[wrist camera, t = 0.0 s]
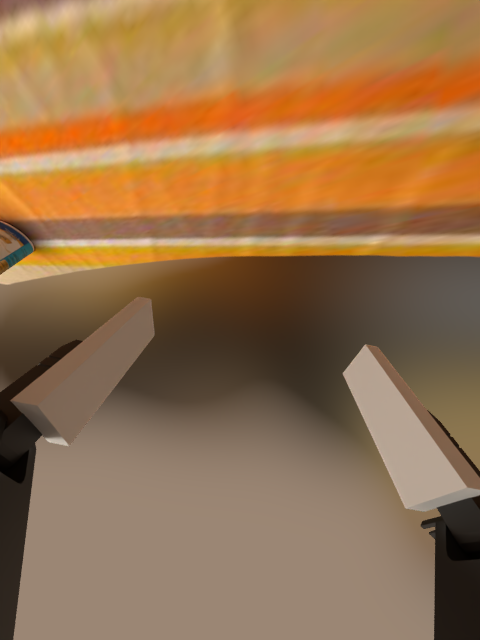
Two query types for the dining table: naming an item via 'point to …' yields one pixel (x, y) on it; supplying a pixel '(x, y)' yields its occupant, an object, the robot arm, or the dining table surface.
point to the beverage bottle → (12, 246)
